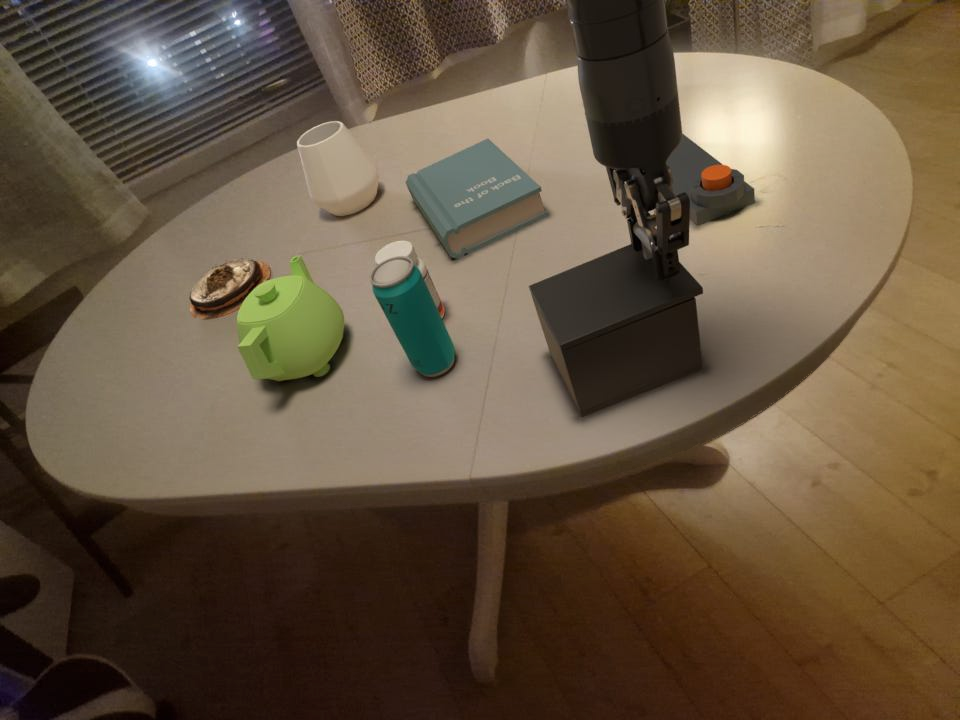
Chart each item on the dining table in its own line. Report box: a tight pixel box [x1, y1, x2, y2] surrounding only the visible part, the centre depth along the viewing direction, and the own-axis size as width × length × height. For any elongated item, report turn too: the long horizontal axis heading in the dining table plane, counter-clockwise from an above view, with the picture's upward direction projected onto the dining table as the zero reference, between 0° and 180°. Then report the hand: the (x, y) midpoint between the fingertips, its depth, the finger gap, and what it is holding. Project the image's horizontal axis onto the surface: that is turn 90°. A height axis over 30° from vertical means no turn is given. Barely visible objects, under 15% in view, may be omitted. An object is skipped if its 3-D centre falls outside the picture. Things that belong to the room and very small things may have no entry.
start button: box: [701, 164, 732, 191], centre depth 83 cm, size 4×4×2 cm
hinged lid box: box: [530, 293, 703, 417], centre depth 69 cm, size 14×11×10 cm
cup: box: [296, 120, 380, 217], centre depth 117 cm, size 13×13×14 cm
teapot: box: [236, 254, 345, 382], centre depth 86 cm, size 20×13×13 cm
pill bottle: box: [374, 240, 445, 319], centre depth 85 cm, size 6×6×11 cm
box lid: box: [528, 221, 704, 351], centre depth 64 cm, size 14×11×5 cm
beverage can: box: [369, 256, 456, 378], centre depth 76 cm, size 6×6×15 cm
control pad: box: [666, 132, 756, 226], centre depth 91 cm, size 23×8×4 cm, turn 13°
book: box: [405, 138, 549, 260], centre depth 104 cm, size 23×16×5 cm
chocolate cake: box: [188, 257, 271, 320], centre depth 110 cm, size 15×15×4 cm
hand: (655, 260), depth 64 cm, fingers closed on box lid, 5 cm apart
